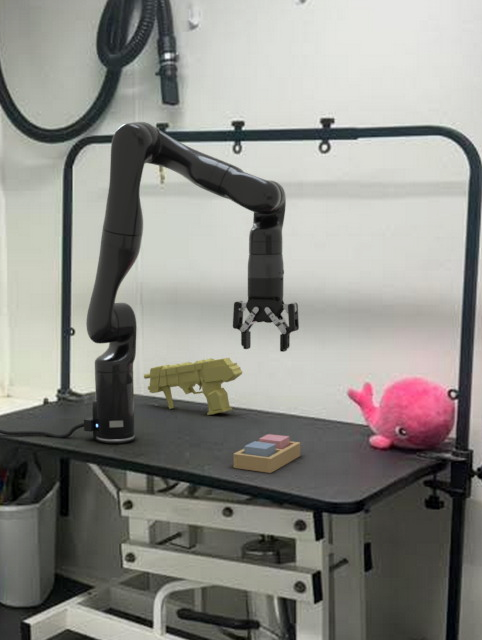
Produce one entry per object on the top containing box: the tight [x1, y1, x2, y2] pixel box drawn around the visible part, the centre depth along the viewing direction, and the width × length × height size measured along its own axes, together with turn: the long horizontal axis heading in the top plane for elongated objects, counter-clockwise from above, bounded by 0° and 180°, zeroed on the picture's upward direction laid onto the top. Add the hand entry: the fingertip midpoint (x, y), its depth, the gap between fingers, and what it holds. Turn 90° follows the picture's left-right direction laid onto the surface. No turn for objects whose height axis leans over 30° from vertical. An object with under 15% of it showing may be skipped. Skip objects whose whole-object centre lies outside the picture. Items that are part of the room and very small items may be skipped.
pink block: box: [258, 433, 290, 449], centre depth 207 cm, size 5×5×4 cm
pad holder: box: [232, 440, 301, 474], centre depth 204 cm, size 8×16×3 cm, turn 144°
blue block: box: [243, 440, 276, 457], centre depth 201 cm, size 5×5×4 cm
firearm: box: [143, 357, 243, 416], centre depth 257 cm, size 4×30×15 cm, turn 51°
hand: (265, 349), depth 204 cm, fingers open, 8 cm apart
